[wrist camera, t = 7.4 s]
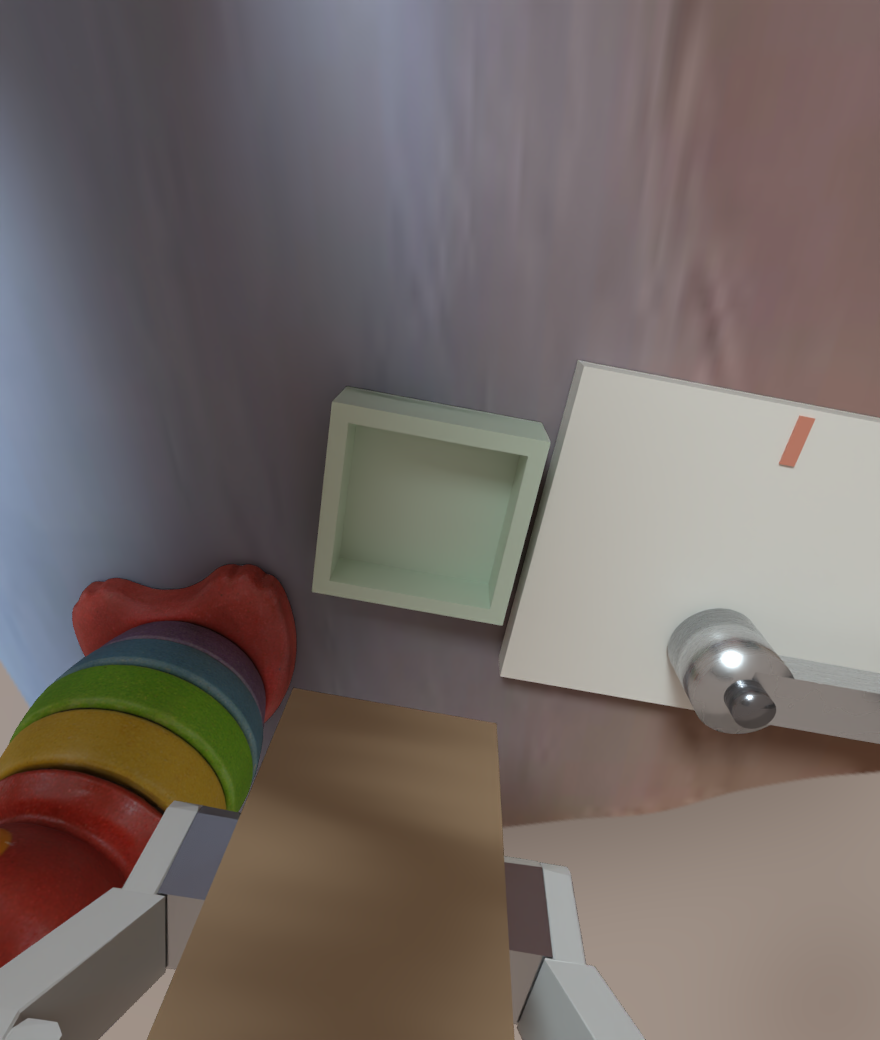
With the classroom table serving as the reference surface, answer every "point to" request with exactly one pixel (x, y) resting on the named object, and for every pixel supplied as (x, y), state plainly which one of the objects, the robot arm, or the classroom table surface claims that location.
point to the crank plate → (695, 533)
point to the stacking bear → (136, 736)
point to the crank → (768, 682)
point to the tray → (426, 504)
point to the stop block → (356, 887)
